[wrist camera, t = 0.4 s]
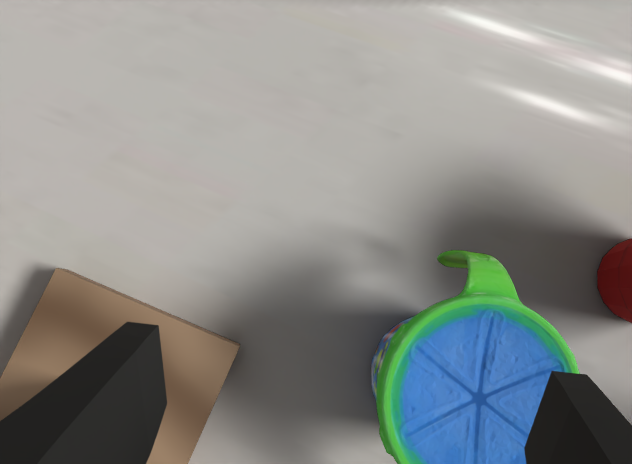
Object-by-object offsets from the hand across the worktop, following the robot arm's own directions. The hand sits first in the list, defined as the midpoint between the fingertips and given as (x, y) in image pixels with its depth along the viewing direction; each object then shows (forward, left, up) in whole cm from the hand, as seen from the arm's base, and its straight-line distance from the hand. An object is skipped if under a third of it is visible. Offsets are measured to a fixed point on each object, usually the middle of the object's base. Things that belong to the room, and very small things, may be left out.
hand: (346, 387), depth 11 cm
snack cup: (+1, -10, -27) cm, 29 cm away
